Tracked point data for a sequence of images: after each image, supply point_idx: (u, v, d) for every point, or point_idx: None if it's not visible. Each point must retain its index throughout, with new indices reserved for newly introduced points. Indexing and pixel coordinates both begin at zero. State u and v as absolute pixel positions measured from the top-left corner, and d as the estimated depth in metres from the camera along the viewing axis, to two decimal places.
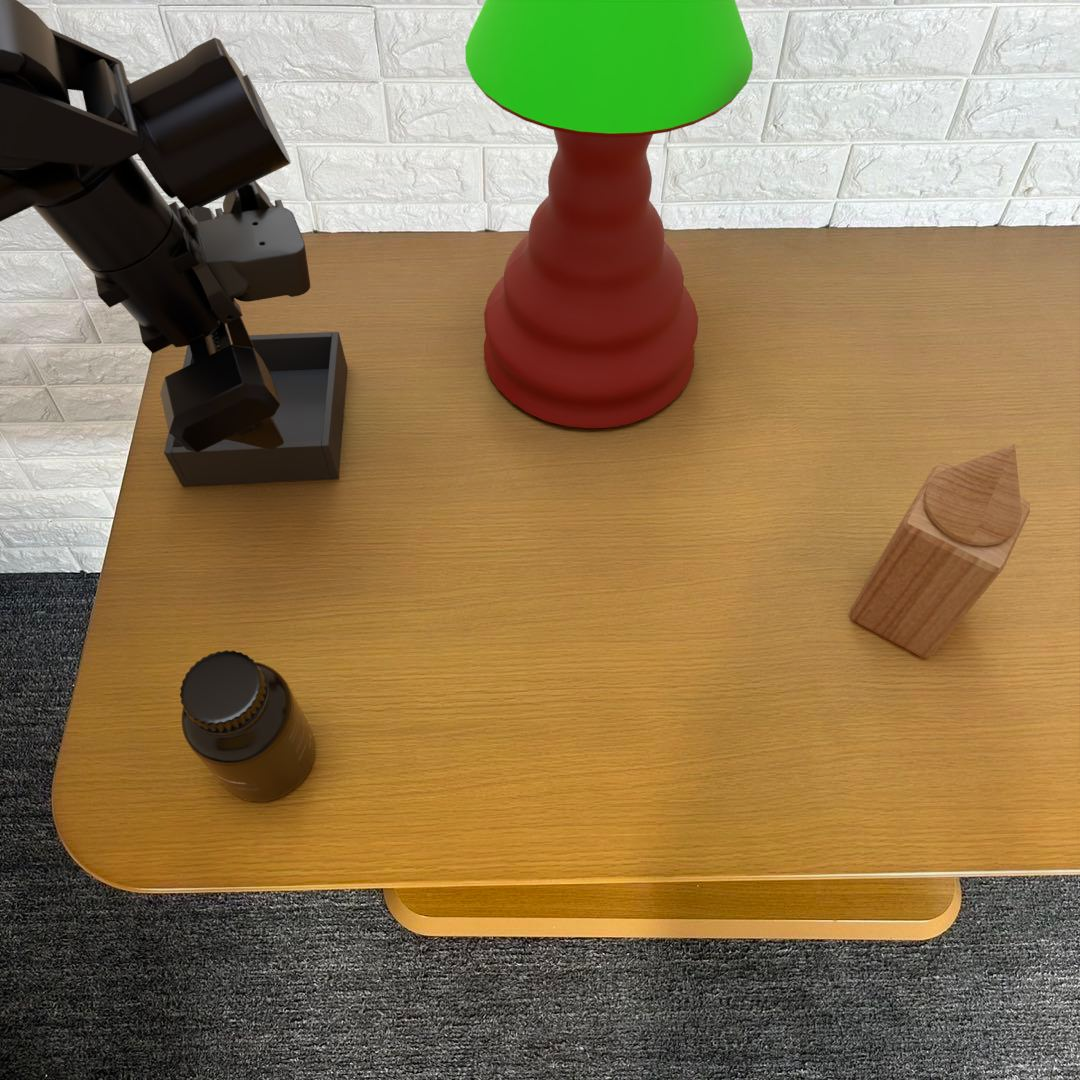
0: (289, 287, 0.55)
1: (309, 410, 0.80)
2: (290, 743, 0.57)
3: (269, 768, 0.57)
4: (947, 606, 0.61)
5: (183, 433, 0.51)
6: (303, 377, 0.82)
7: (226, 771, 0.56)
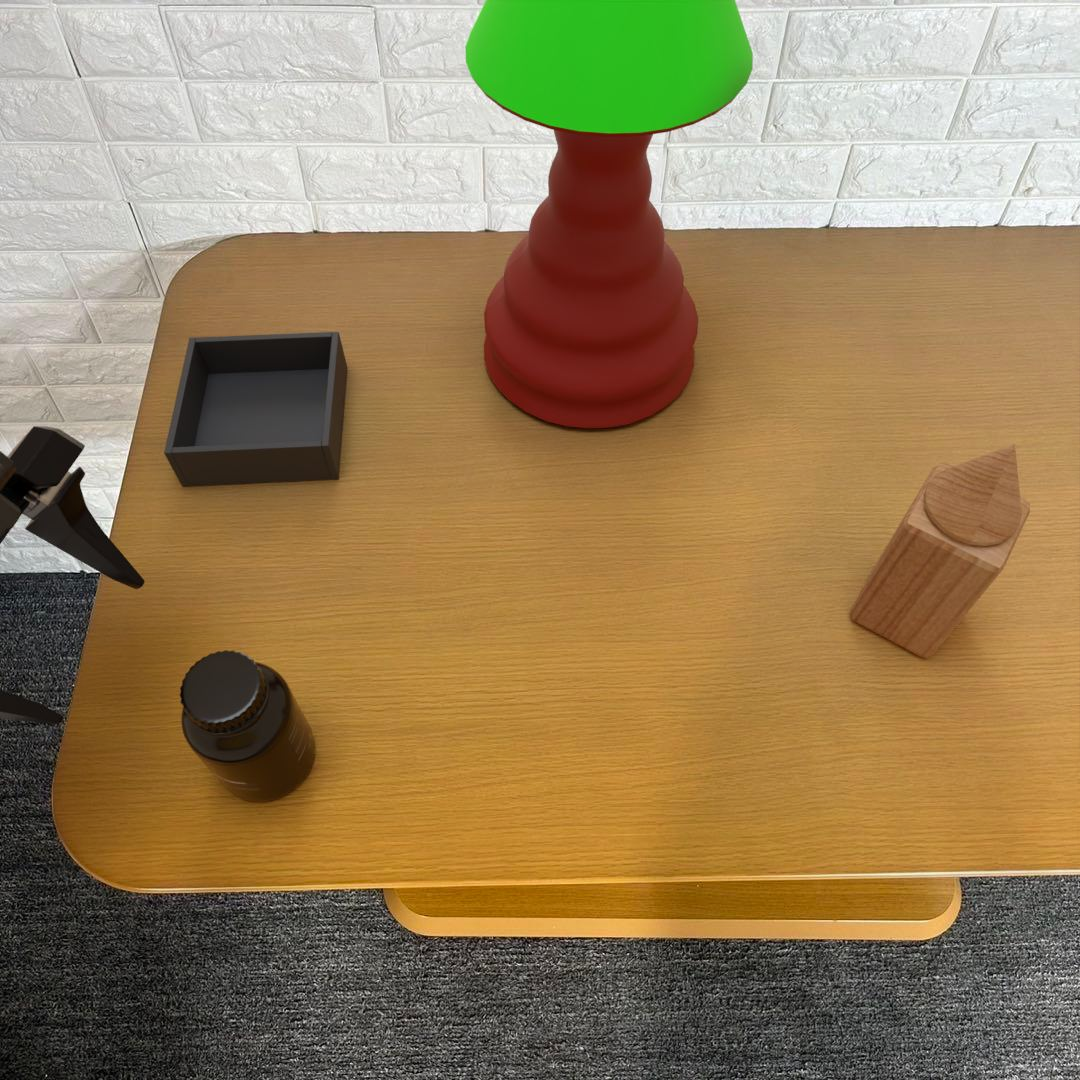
0: None
1: (309, 410, 0.80)
2: (290, 743, 0.57)
3: (269, 768, 0.57)
4: (947, 606, 0.61)
5: None
6: (303, 377, 0.82)
7: (226, 771, 0.56)
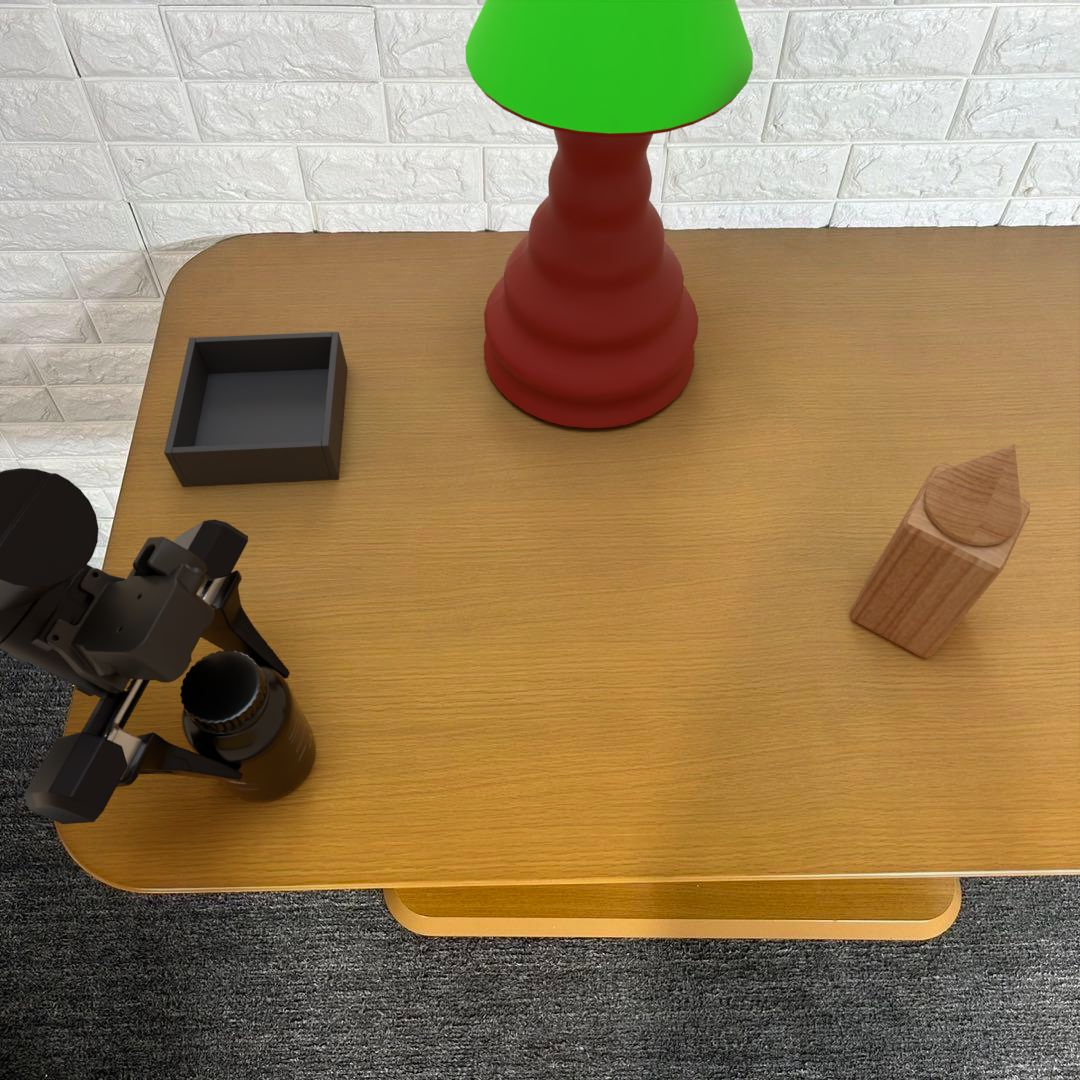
0: (151, 675, 0.47)
1: (309, 410, 0.80)
2: (291, 743, 0.57)
3: (269, 768, 0.57)
4: (947, 606, 0.61)
5: (33, 811, 0.49)
6: (303, 377, 0.82)
7: None
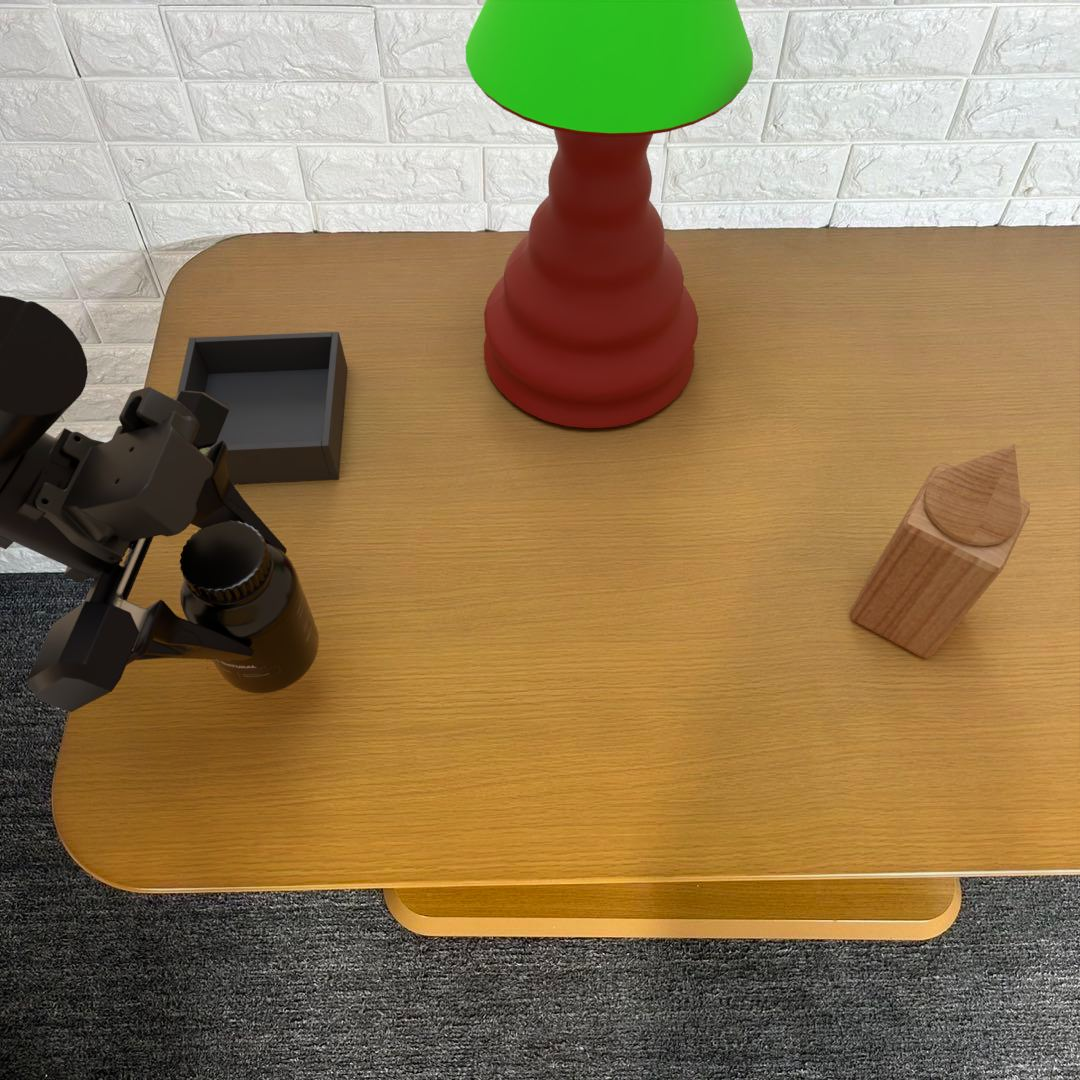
0: (156, 528, 0.44)
1: (309, 410, 0.80)
2: (299, 618, 0.55)
3: (280, 645, 0.54)
4: (947, 606, 0.61)
5: (38, 698, 0.46)
6: (303, 377, 0.82)
7: None
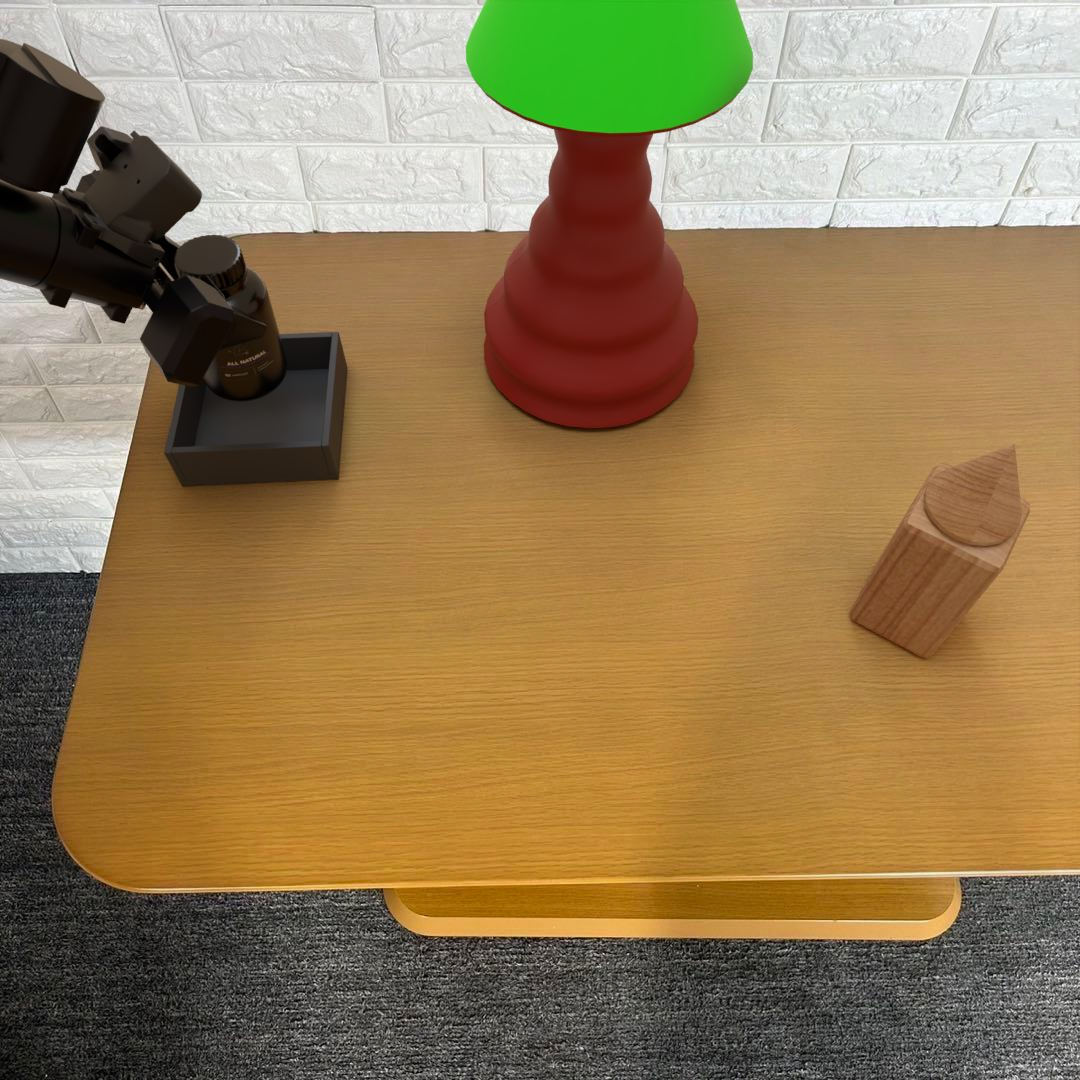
0: (184, 205, 0.58)
1: (309, 410, 0.80)
2: None
3: (273, 324, 0.70)
4: (947, 606, 0.61)
5: (176, 376, 0.58)
6: (303, 377, 0.82)
7: None
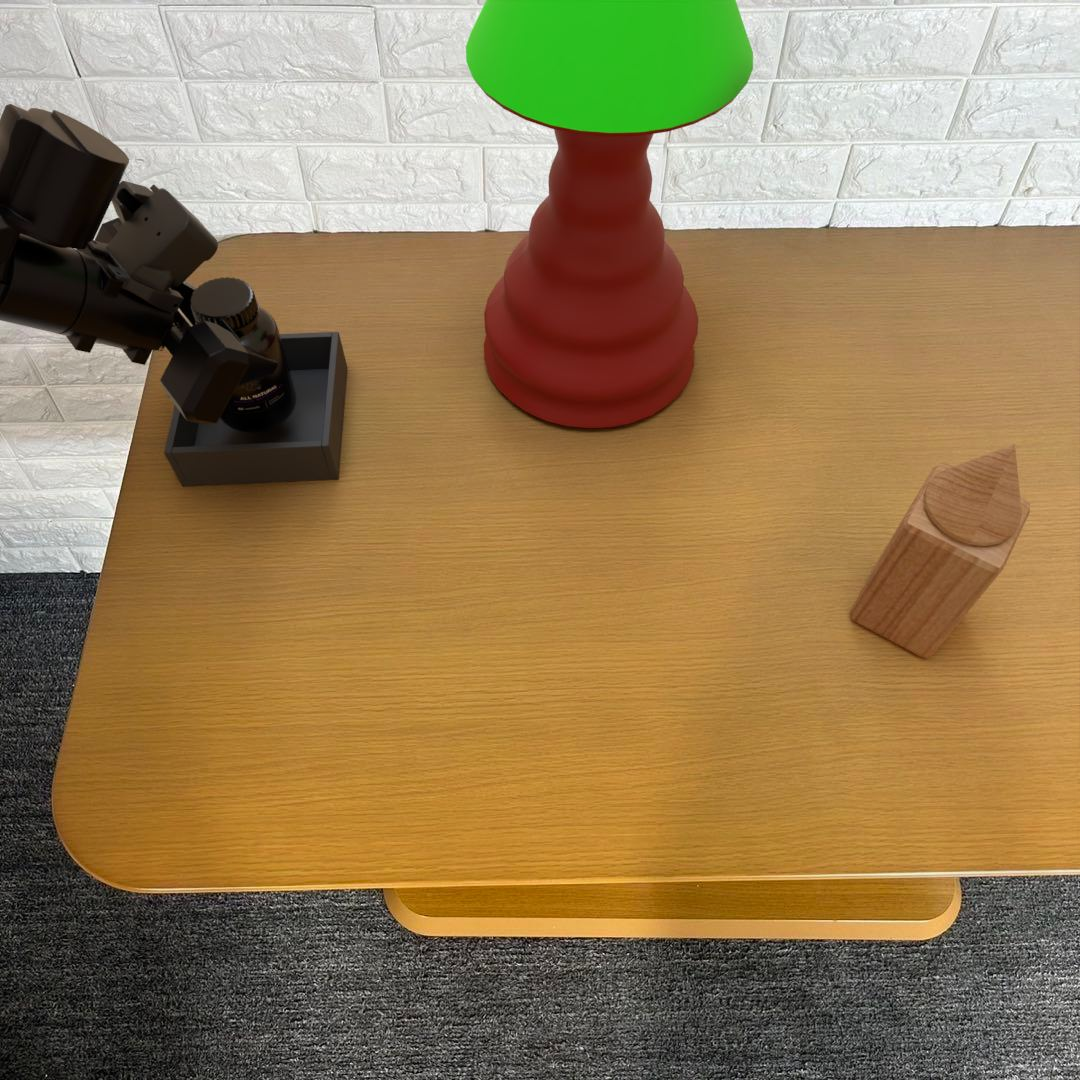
0: (201, 254, 0.62)
1: (309, 410, 0.80)
2: None
3: (283, 360, 0.73)
4: (947, 606, 0.61)
5: (195, 416, 0.62)
6: (303, 377, 0.82)
7: None
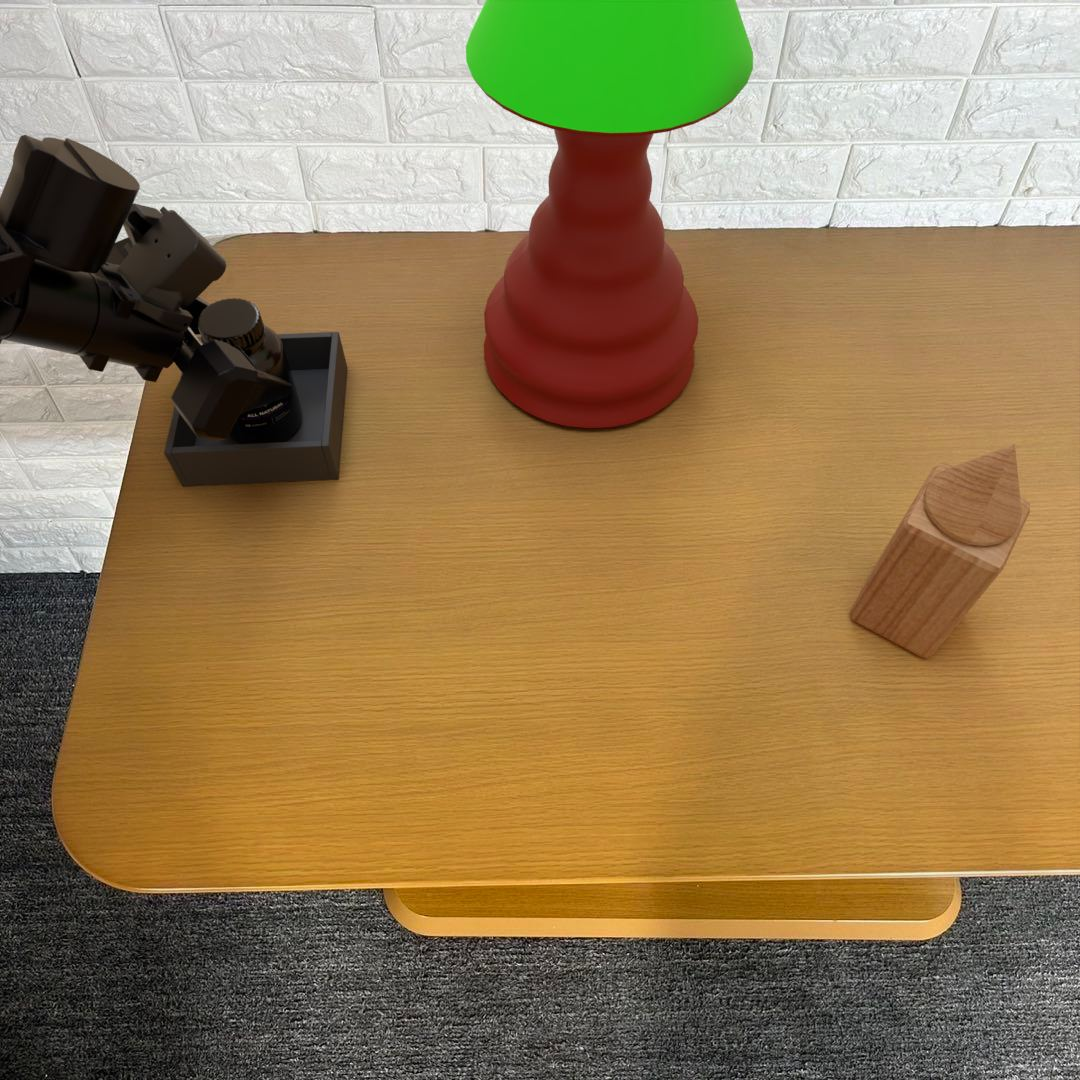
0: (210, 275, 0.63)
1: (309, 410, 0.80)
2: None
3: (289, 377, 0.75)
4: (947, 606, 0.61)
5: (206, 433, 0.63)
6: (303, 377, 0.82)
7: None
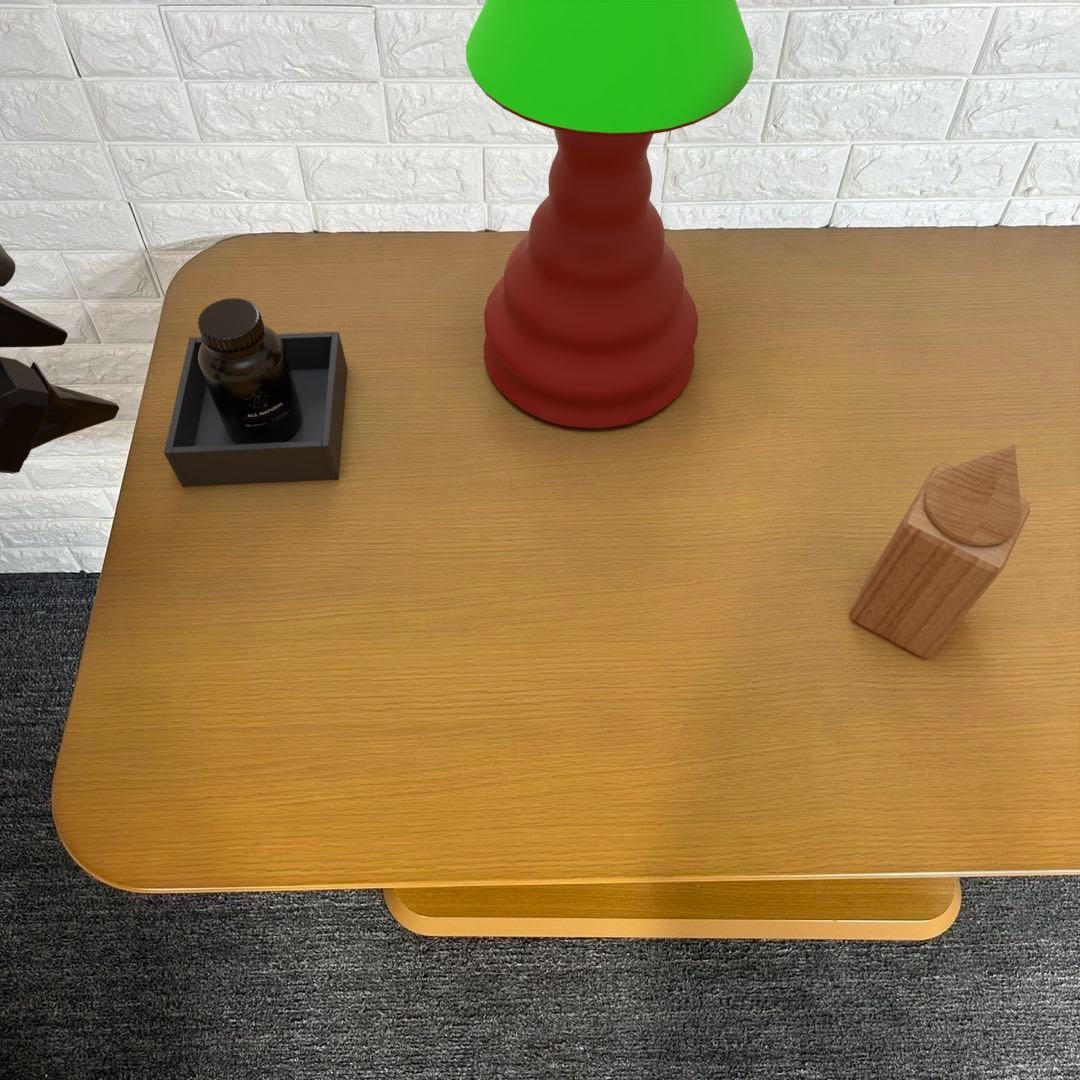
0: None
1: (309, 410, 0.80)
2: None
3: (289, 377, 0.75)
4: (947, 606, 0.61)
5: None
6: (303, 377, 0.82)
7: (270, 388, 0.73)
